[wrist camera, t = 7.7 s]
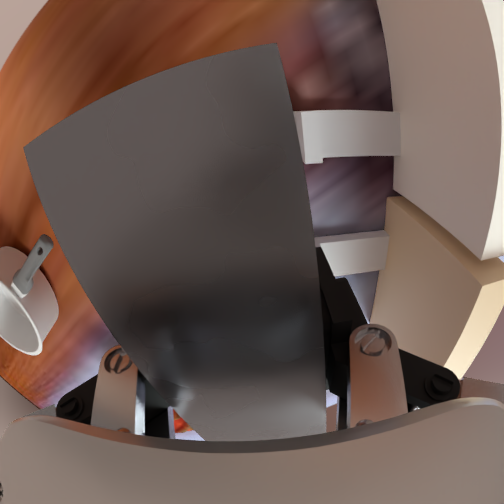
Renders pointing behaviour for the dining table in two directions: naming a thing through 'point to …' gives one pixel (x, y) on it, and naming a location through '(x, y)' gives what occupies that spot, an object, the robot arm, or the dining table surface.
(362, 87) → the dining table surface
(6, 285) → the saucepan
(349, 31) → the dining table surface
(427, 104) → the white rack
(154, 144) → the grey metal block
